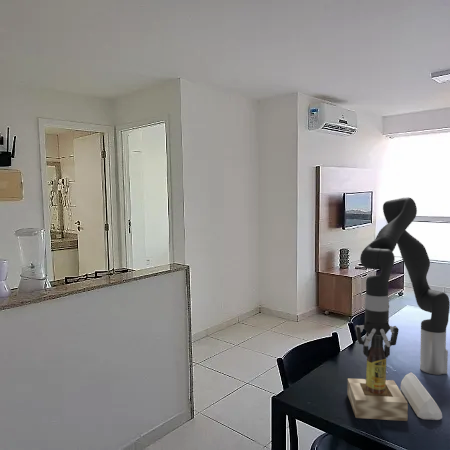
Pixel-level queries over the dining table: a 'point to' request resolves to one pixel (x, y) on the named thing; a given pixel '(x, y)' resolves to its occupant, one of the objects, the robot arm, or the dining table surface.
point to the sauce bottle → (376, 366)
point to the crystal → (420, 398)
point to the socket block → (377, 401)
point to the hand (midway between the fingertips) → (376, 356)
